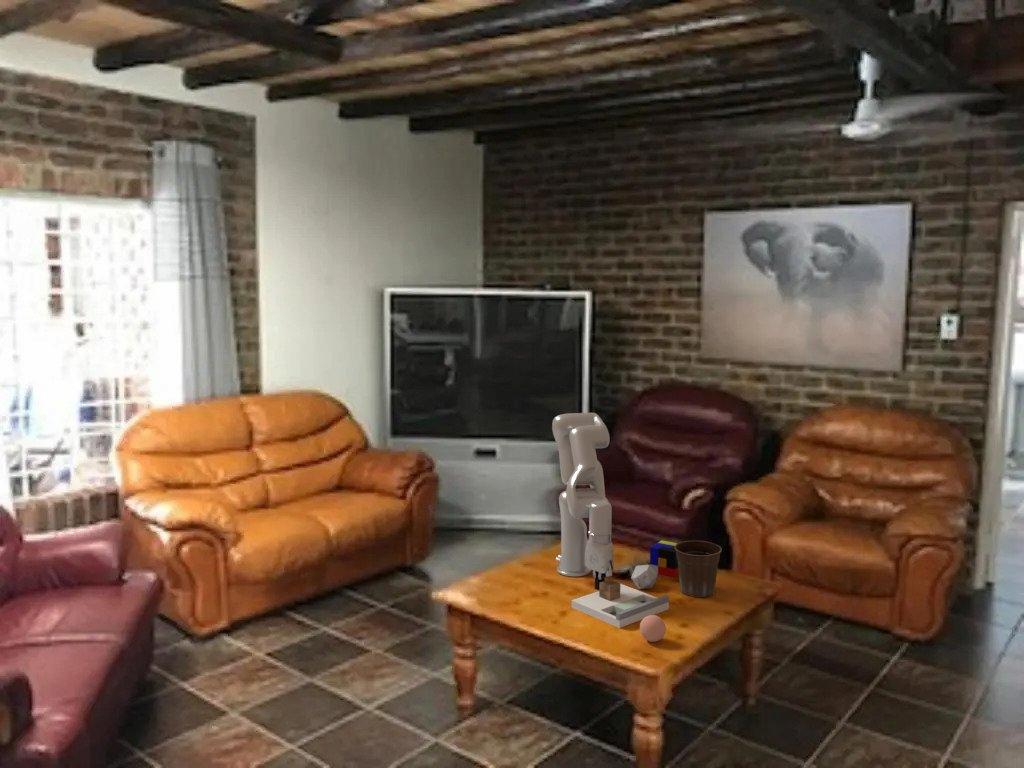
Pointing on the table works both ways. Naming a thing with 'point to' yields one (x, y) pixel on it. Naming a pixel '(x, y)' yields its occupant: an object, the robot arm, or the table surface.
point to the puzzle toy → (664, 559)
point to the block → (609, 590)
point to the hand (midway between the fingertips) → (599, 588)
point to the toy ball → (652, 628)
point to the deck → (621, 606)
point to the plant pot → (697, 567)
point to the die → (644, 576)
